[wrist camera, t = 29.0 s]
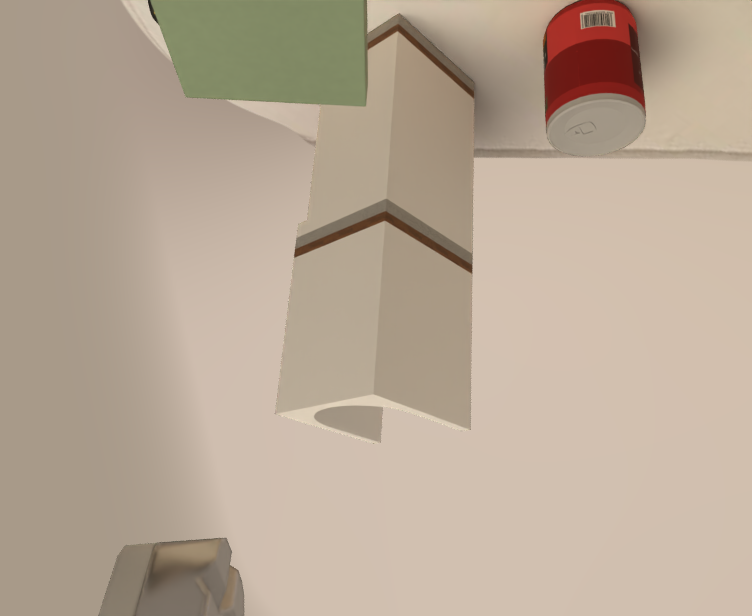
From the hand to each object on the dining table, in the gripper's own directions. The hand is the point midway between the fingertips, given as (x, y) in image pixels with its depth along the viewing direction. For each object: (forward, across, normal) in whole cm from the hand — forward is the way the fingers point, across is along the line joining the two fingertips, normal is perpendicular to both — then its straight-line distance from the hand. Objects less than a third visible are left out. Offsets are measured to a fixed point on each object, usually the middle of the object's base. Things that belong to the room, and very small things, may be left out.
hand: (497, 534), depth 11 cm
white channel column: (+64, -1, +11) cm, 65 cm away
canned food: (+59, -18, +8) cm, 62 cm away
